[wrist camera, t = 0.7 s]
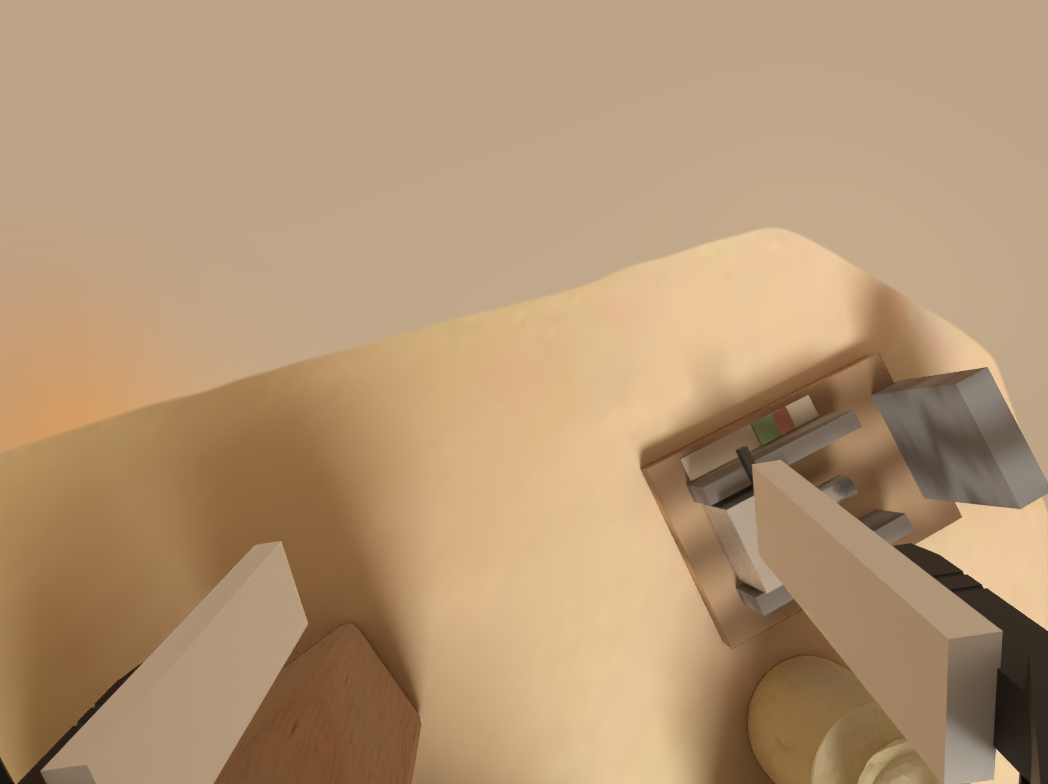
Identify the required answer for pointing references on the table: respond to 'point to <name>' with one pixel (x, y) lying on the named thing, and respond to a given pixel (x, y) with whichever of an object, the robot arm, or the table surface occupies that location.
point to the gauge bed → (849, 469)
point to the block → (329, 722)
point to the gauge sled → (739, 525)
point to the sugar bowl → (827, 729)
